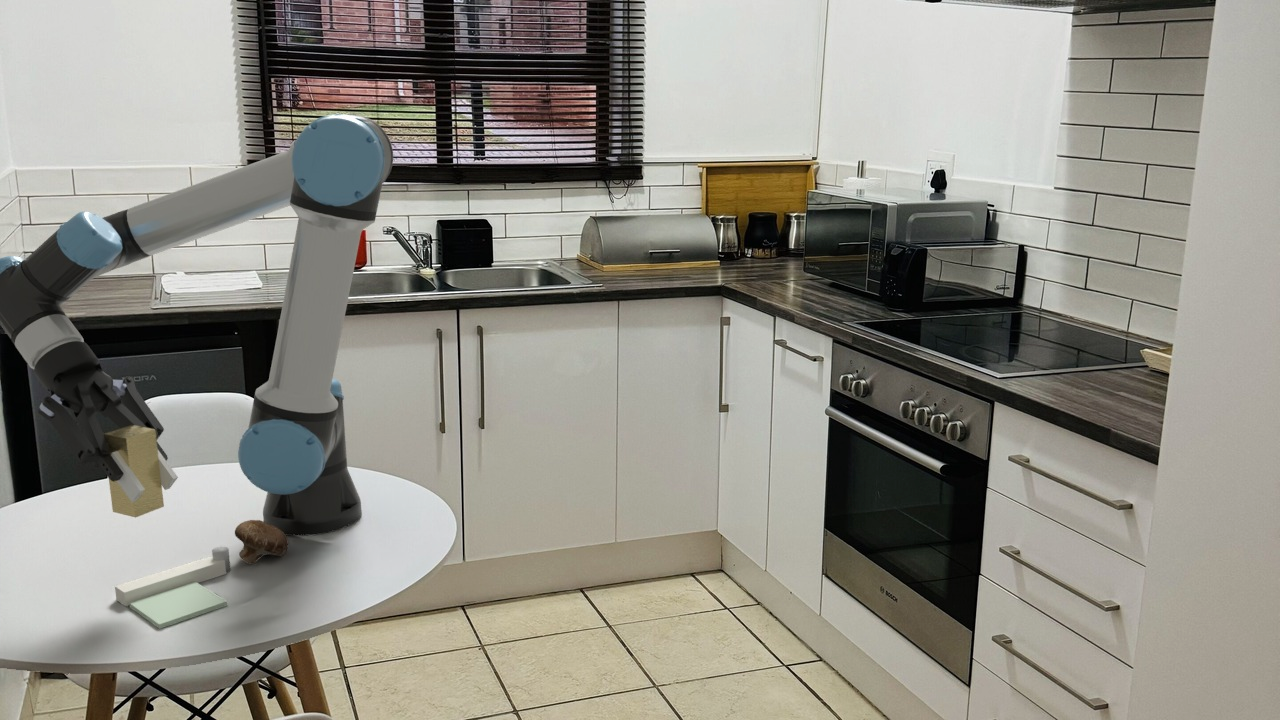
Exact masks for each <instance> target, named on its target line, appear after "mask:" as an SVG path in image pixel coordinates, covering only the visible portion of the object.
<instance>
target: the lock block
mask: <svg viewBox="0 0 1280 720" xmlns="http://www.w3.org/2000/svg"><path fill="white" fill-rule="evenodd" d="M103 434H104V437H105V439H106V441H107V444H108V446H109V449H110V454H112V452H115V451H118V452H119V454H120V455H121V456H122V458H123V459H124V461H125V462H126V463H127V465H128V466H129V468H130V469H131V470H132V472H133V473H134V475H135V476H136V477H137V479H138V480H139V482H140V483H141V484H142V486H143V487H144V489H145V490H144V492H143V493H142V494H141V496H140V497H139V498H138V500H137V501H135V502H131V501H130V499H129V498H128V496H127V495H126V494H125V492H124V491H123V489H122V488H121V486H120V485H119V484H118V482H117V481H114V482H113V481H111V480H110V479H109V478H108V482H109V484H108V485H109V491H110V492H109V493H110V500H111V507H112V512H113V513H117V514H120V515H124V516H128V517H131V518H135V519H136V518H139V517H141V516H143V515H145V514H149V513H151V512H154V511H156V510H158V509H159V510H160V509H161V508H164V507H165V505H164V504H165V503H164V496H163V486H162V485H161V478H160V469H159V460H158V449H157V442H158V439H157V440H156V431H155V429H151V428H146V427H141V426H136V425H131V426H127V427H124V428H121V429H120V428H117V429H115V430H112V431H108V432H107V431H106V432H105V433H104V432H103Z"/></svg>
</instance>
